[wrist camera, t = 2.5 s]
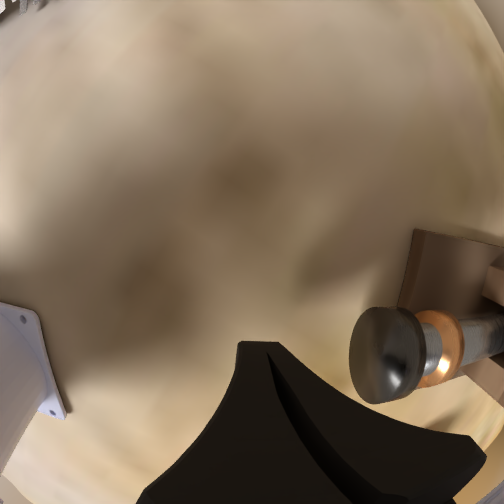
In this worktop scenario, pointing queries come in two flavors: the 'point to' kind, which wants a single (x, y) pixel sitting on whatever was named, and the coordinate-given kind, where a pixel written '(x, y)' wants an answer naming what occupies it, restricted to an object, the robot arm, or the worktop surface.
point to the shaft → (416, 349)
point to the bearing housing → (458, 291)
